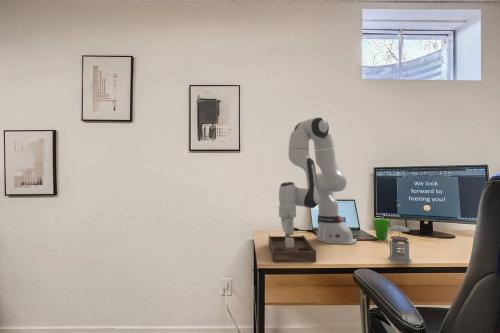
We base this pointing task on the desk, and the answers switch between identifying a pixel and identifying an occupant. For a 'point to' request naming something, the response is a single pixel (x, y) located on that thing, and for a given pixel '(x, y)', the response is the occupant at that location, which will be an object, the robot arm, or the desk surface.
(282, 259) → the dark brown rimmed tray
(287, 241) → the block
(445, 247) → the desk surface
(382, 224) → the cup
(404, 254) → the french press
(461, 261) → the desk surface
